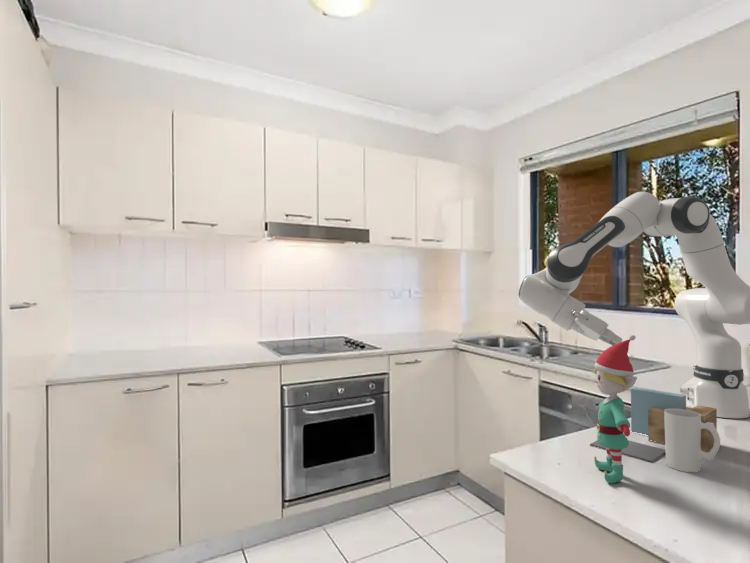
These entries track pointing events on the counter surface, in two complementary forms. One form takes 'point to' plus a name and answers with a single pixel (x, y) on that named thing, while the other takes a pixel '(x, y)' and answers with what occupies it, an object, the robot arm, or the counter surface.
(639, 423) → the blue rectangular block
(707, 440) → the slot box
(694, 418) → the mug
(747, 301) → the robot arm
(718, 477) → the counter surface
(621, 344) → the toy
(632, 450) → the mat
